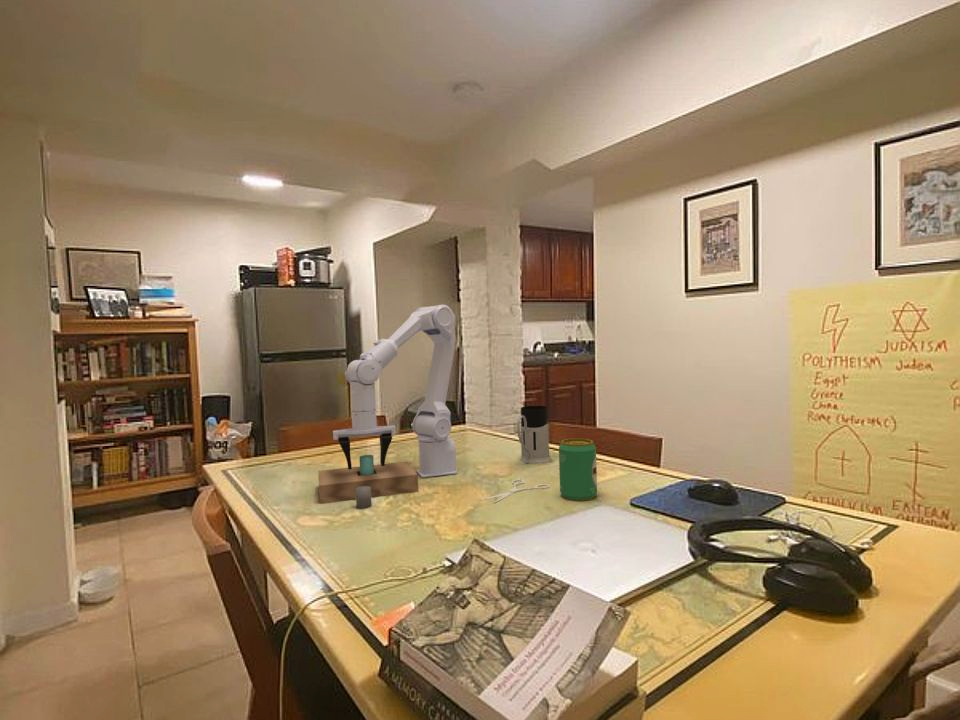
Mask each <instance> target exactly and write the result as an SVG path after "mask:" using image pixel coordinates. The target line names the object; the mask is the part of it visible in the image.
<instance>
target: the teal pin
mask: <svg viewBox="0 0 960 720" xmlns="http://www.w3.org/2000/svg"><path fill="white" fill-rule="evenodd" d="M374 465H375V464H374V455H373V454H364V455H360V456H359V467H360V476H361V475H371V474H374Z"/></svg>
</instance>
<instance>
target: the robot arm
mask: <svg viewBox="0 0 960 720" xmlns="http://www.w3.org/2000/svg"><path fill="white" fill-rule="evenodd" d="M455 324H456V314H455V313H454V312H453V310H452V309H451V308H450V306H448V305H446V304H439V305H433V306H430V305H429V306H420V307H419V308H417V309H416V311H414V312H412V313H411V314H410V316H409V317H408V318H407V319H406V320H405V321H404V322H403V324H402V325H401V326H400V327H399V328H397V330H395V331H394V332H393V334H392V335H390V337H389V338H388V339H386V338H381V339H376V340H375V341H373V346H371V347H370V348H369V349H368V350H367V351H366V352H364V353H363V352H362V353H361V354H360V355H359V359H355V360H352V361H351V362H349V364H348V365H347V368H346V371H345V372H344V376H345V378H346V380H347V382H348V383H349V387H350V405H351V406H350V407H351V409H350V410H351V428H343V429H336V430H333V431H332V435H333V436H332V437H333V438H332V439H333V441H338V443H339V445H340V448H341V450H342V451H343V454H344V456H345V459H346V463H347V468H348V469H349V470H350V469H352V459H351V458H352V457H351V442H350V441H351V440H350V439H354V438H367V437H377V436H379V447H380V452H379V453H380V456H379V457H380V464H381V466H385V464H386V457H387V453H388V450H389V447H390V444H391V442H392V440H393V435H397V429H396V426H395V425H378V422H377V404H376V399H377V398H376V382H377V381H378V380H379V378H380V374H381V372H382V371H383V370H384V369H385V368H386V367H387V366H388V365H389V364H390V363H391V362H392V361H394V359H395V358H397V356H398V350H399V348H400V347H402V346H403V345H404V344H406V343H407V342H408V341H409V340H411V339H412V338H413V337H414V336H415V335H416V334H418V333H419V332H423V333H424V334H425V335H426V336H427V337H428V338H430V339H431V341H432V342H433V344H434V345H433V349H432V350H433V351H432V356H431V363H430V368H429V374H428V378H427V379H428V381H427V386H426V392H425V396H424V397H425V399H424V401H423V403H421V404H420V406H418V408H417V413H416V414H415V417H414V418H413V421H412V423H411V424H412V431H413V432H414V433H415V435H416V438H417V440H418V459H419V461H418V464H419V465H418V466H419V468H416V469H415V472H416V473H417V474H418V476H420V478H430V477H439V476H446V475H454V474H455V475H457V474H458V471H457V453H456V443H455V440H454V439H453V438H452V437H449V435H450V433H451V430H452V423H451V422H452V421H451V414H452V412H451V411H450V409H449V408H448V407H447V405H446V402H447V396H448V390H449V384H450V380H451V379H450V378H451V372H452V371H451V370H452V365H453V361H454V360H453V358H454V353H455V349H456V348H455V347H456V342H457V341H456V340H457V339H456V338H457V337H456V332H455Z"/></svg>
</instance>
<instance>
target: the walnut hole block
mask: <svg viewBox="0 0 960 720" xmlns="http://www.w3.org/2000/svg"><path fill="white" fill-rule="evenodd" d="M317 475H318V478H317V479H318V494H319V504H327V503H335V502H342V501H351V500H356V488H357V487H361V486H370V487H371V498H374V497H375V498H376V497H383V496H384V497H385V496H392V495H393V496H394V495H400V494H407V493H415V492H417V493H418V492H419V477H418V476H419V474H418V472H417V471H416V469H414V468H413V467H412V465H410V463H409V462H408V461H399V462H390V463H385V466H381V463H380V464H374V474H371V475H361V476H360V466H353V467H352V469H350V470H349V469H348V467H344V468H334V469H324V470H318V473H317Z"/></svg>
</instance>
